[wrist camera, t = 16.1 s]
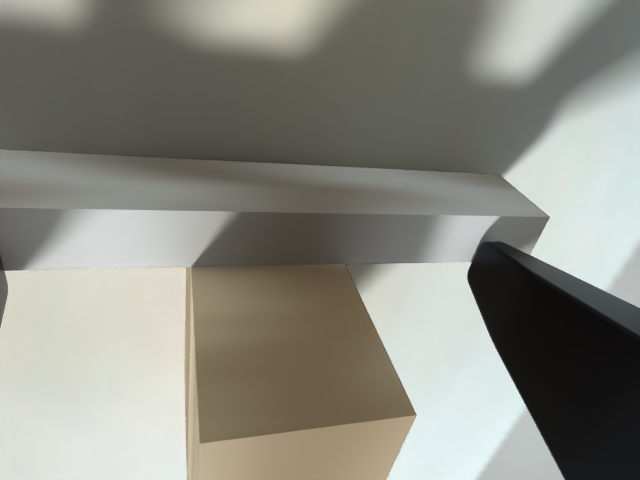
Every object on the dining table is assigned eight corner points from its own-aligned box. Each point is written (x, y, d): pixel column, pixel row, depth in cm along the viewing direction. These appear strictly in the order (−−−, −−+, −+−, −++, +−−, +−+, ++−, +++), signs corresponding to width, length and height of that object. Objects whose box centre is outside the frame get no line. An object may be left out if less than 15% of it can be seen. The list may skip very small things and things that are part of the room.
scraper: (8, 389, 12) (-94, 690, 8) (-70, 133, 8) (-386, 434, 4) (410, 354, 16) (509, 543, 11) (488, 165, 12) (691, 335, 7)
